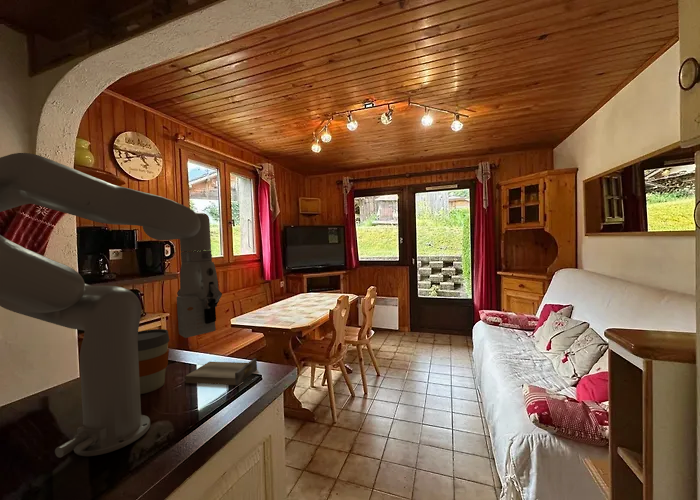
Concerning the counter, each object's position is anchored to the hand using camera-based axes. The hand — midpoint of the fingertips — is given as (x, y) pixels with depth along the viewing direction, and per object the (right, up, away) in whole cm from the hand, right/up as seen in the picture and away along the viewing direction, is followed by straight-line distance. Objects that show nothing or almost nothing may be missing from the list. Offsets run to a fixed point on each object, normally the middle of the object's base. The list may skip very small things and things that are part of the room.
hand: (200, 321), depth 83 cm
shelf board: (+2, -19, +8) cm, 21 cm away
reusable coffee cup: (-17, -20, +3) cm, 26 cm away
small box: (-1, -3, -1) cm, 3 cm away
